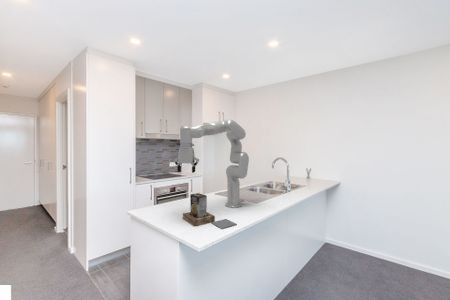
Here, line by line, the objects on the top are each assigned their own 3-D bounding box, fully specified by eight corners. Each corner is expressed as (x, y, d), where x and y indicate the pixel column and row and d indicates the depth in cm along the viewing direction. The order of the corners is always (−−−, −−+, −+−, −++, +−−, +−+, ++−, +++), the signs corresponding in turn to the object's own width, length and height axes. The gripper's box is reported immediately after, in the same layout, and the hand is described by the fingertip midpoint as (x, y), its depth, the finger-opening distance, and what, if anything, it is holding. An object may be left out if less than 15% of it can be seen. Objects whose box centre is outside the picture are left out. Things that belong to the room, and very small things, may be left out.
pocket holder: (202, 214, 142) (202, 209, 142) (214, 221, 129) (214, 215, 129) (182, 218, 134) (182, 213, 134) (194, 226, 121) (194, 220, 121)
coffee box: (190, 219, 132) (189, 194, 132) (198, 217, 137) (198, 192, 137) (198, 223, 126) (198, 196, 126) (207, 220, 130) (207, 195, 130)
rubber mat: (225, 219, 132) (225, 218, 132) (236, 225, 123) (236, 224, 123) (211, 223, 126) (211, 222, 126) (221, 229, 117) (221, 228, 117)
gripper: (200, 145, 136) (201, 171, 136) (176, 145, 140) (176, 171, 140) (196, 145, 129) (196, 173, 129) (171, 145, 133) (171, 172, 133)
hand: (186, 172), depth 135 cm, fingers open, 9 cm apart
